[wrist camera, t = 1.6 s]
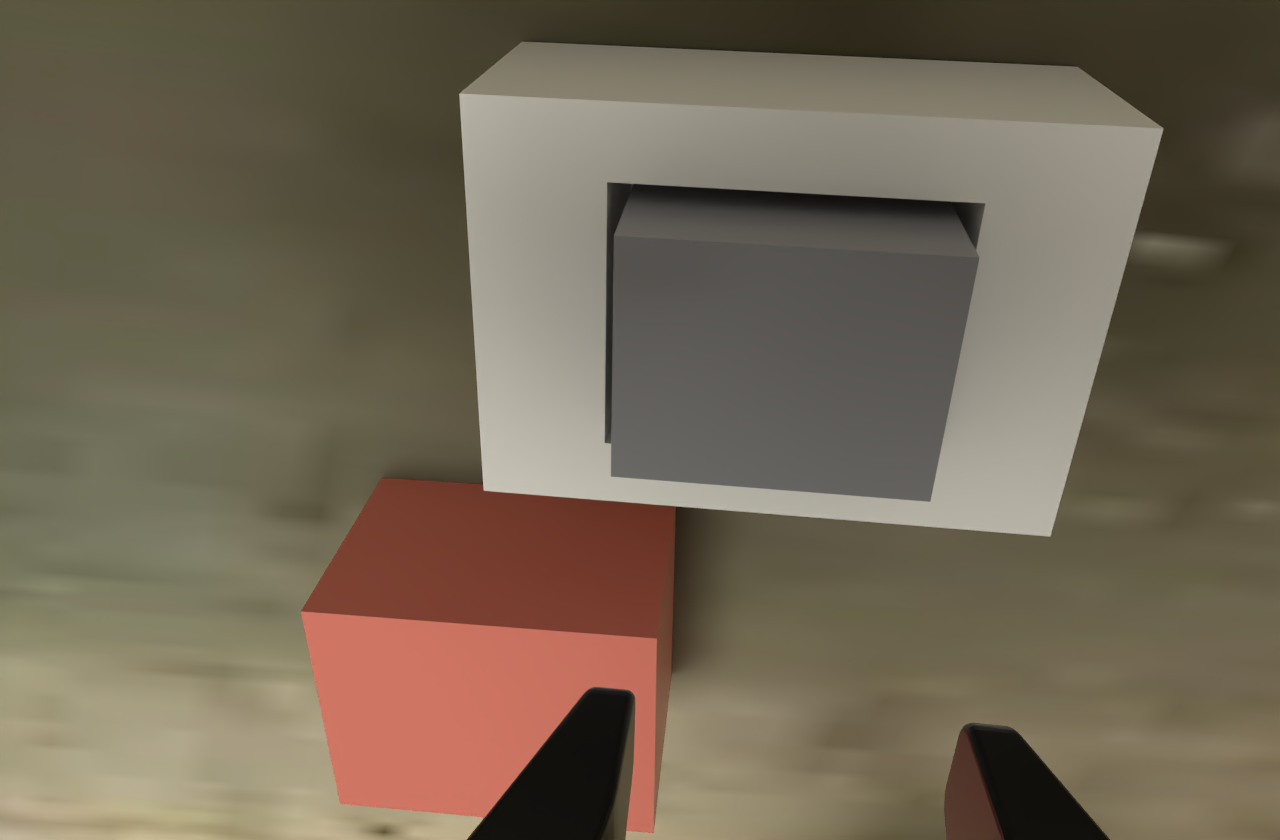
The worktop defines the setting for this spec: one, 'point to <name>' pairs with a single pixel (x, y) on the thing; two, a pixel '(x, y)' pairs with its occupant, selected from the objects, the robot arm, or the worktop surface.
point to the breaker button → (786, 339)
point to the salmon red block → (486, 639)
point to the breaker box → (815, 164)
